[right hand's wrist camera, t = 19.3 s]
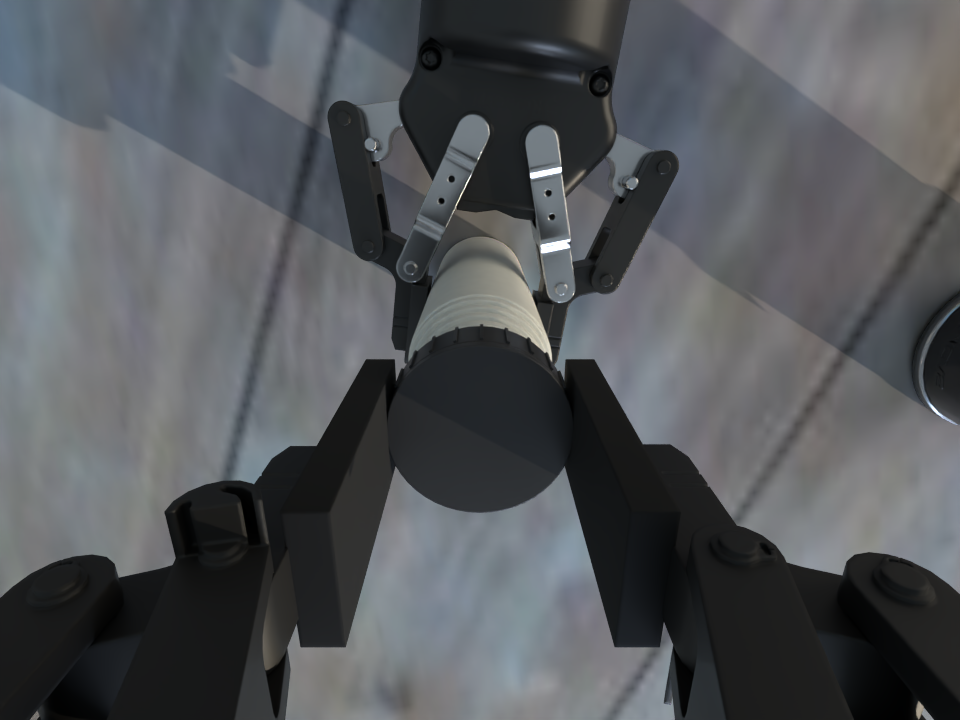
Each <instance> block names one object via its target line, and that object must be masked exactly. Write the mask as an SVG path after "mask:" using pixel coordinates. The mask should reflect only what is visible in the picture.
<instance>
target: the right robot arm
mask: <svg viewBox="0 0 960 720" xmlns="http://www.w3.org/2000/svg"><path fill="white" fill-rule="evenodd" d="M564 382H565V385H566V387H567V390H566V394H567V397H568V399H569V402H570V405H571V409H572V412H573V435H572V448H571V452H570V455H569V458H568V460H567V462H566V464H565V469H566V472H567V476H568V479H569V483H570V487H571V490H572V494H573V498H574V501H575V505H576V508H577V512H578V516H579V519H580V523H581V527H582V530H583V534H584V537H585V541H586V545H587V548H588V552H589V556H590V559H591V563H592V566H593V570H594V574H595V577H596V581H597V585H598V588H599V592H600V596H601V599H602V603H603V606H604V610H605V614H606V617H607V621H608V625H609V628H610V632H611V635H612V639H613V643H614V646H615V647H660V642H661V636H662V630H663V623H665V625H666V628H667V630H668V633H669V635H670V638H671V640H672V643H673V650H672V656H671V662H670V667H669V673H668V679H667V685H666V691H665V698H664V703H665V704H669V705H671V702H672V696H673V705H674V714H675V720H926V719H925V718H924V717H923V715H922V712H923V709H924V708H925V709H926V710H927V712H928V713H929V714H930V715H931V716H932V718H933V719H934V720H960V594H959V593H958V592H957V591H956V590H954V589H953V588H952V587H951V586H950V585H949V584H947V583H946V582H945V581H943V580H942V579H940V578H939V577H938V576H936V575H935V574H934V573H932V572H931V571H929V570H927V569H925V568H923V567H921V566H919V565H917V564H914V563H913V562H911V561H908V560H905V559H903V558H898V557H896V556H891V555H888V554H880V553H871V552H868V553H862V554H856V555H854V556H853V557H851V558H850V559H849V560H848V561H847V562H846V566H845V569H844V572H843V576H842V575H837V574H832V573H828V572H823V571H819V570H814V569H809V568H805V567H800V566H797V565H793V564H790V563H786V560H785V558H784V556H783V555H782V554H781V552H780V551H779V549H778V548H777V547H776V545H774V544H773V543H772V542H770V541H769V540H768V539H766V538H765V537H764V536H762V535H760V534H758V533H756V532H754V531H751V530H749V529H747V528H744V527H740V526H737V525H736V524H735V522H734V521H733V520H732V518H731V517H730V515H729V514H728V512H727V511H726V510H725V508H724V507H723V505H722V504H721V502H720V501H719V500H718V498H717V497H716V495H715V494H714V492H713V491H712V490H711V488H710V487H708V486H707V482H706V481H705V480H704V478H703V477H702V475H701V474H699V471H698V470H697V468H696V467H695V465H694V464H693V462H692V461H691V460H690V458H689V457H688V456H686V455H685V454H684V453H682V452H681V451H679V450H678V449H676V448H675V447H673V446H672V445H670V444H642V442H641V441H640V439H639V437H638V435H637V434H636V432H635V430H634V428H633V427H632V425H631V423H630V421H629V420H628V418H627V416H626V414H625V413H624V411H623V409H622V407H621V406H620V404H619V402H618V400H617V399H616V397H615V395H614V393H613V391H612V390H611V388H610V386H609V384H608V383H607V381H606V379H605V377H604V376H603V374H602V372H601V370H600V369H599V367H598V365H597V363H596V362H595V360H594V359H566V362H565V379H564ZM395 384H396V373H395V359H366V361H365V362H364V364H363V366H362V368H361V369H360V371H359V373H358V375H357V376H356V378H355V380H354V382H353V383H352V385H351V387H350V389H349V390H348V392H347V394H346V396H345V397H344V399H343V401H342V403H341V404H340V406H339V408H338V410H337V411H336V413H335V415H334V417H333V418H332V420H331V422H330V424H329V425H328V427H327V429H326V431H325V432H324V434H323V436H322V438H321V440H320V441H319V443H318V445H317V446H290V447H288V448H287V449H285V450H284V451H283V452H281V453H280V454H278V455H277V456H275V457H274V458H272V459H271V461H270V462H269V464H268V465H267V467H266V468H265V469H264V471H263V472H262V476H260V477H259V478H258V480H257V481H256V482H255V484H252V483H248V482H244V481H220V482H216V483H211V484H206V485H203V486H201V487H198V488H196V489H193V490H191V491H188V492H187V493H185V494H184V495H182V496H181V497H179V498H178V499H176V500H174V501H173V502H172V503H171V505H170V506H169V507H168V508H167V509H166V511H165V516H166V520H167V524H168V528H169V532H170V536H171V540H172V544H173V548H174V552H175V556H176V559H175V561H174V564H173V565H172V566H168V567H165V568H161V569H157V570H152V571H148V572H143V573H139V574H134V575H129V576H125V577H120V578H119V577H118V574H117V571H116V567H115V564H114V563H113V562H112V561H111V560H109V559H108V558H107V557H103V556H98V555H84V556H76V557H71V558H67V559H63V560H60V561H57V562H54V563H51V564H49V565H48V566H46V567H43V568H41V569H39V570H37V571H35V572H33V573H31V574H30V575H28V576H27V577H26V578H24V579H23V580H21V581H20V582H19V583H17V584H16V585H15V586H13V587H12V588H11V589H10V590H9V591H8V592H6V593H5V594H4V595H3V596H2V597H1V598H0V720H30V719H31V717H32V716H33V715H34V714H35V712H36V711H37V710H38V713H39V715H40V717H39V718H38V719H37V720H285V715H286V706H287V697H288V688H289V679H290V662H289V656H288V650H287V647H288V644H289V642H290V639H291V637H292V634H293V631H294V629H295V626H296V624H297V627H298V634H299V640H300V646H301V647H346V644H347V640H348V637H349V633H350V629H351V626H352V622H353V619H354V615H355V611H356V608H357V604H358V600H359V597H360V593H361V590H362V586H363V582H364V579H365V575H366V571H367V568H368V564H369V561H370V557H371V553H372V550H373V546H374V542H375V539H376V535H377V531H378V528H379V524H380V521H381V517H382V513H383V510H384V506H385V502H386V499H387V495H388V492H389V488H390V484H391V481H392V477H393V473H394V470H395V466H396V465H395V463H394V461H393V459H392V457H391V454H390V451H389V444H388V430H387V414H388V410H389V406H390V403H391V400H392V398H393V395H394V392H395V389H396V388H395V387H394V386H395Z"/></svg>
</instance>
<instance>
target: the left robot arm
mask: <svg viewBox="0 0 960 720" xmlns="http://www.w3.org/2000/svg"><path fill="white" fill-rule="evenodd" d="M629 4H630V0H422V1H421V12H420V24H419V36H418V47H417V58H416V64H415V68H414V71H413V74H412V76H411V78H410V80H409V82H408V83H407V85H406V86H405V88H404V89H403V91H402V93H401V96H400V99H399V100H395V101H388V102H380V103H373V104H366V105H354V104H352V103H350V102H347V101H338V102H335V103H334V104H333V105H332V106H331V107H330V109H329V111H328V123H329V128H330V133H331V138H332V143H333V148H334V153H335V158H336V163H337V168H338V173H339V178H340V183H341V188H342V193H343V198H344V203H345V208H346V213H347V217H348V222H349V227H350V232H351V237H352V242H353V247H354V251H355V253H356V254H357V256H358V257H359V258H361V259H363V260H365V261H373V262H375V263H377V264H379V265H381V266H383V267H385V268H386V269H388V270H389V271H390V272H391V273H392V274H393V276H394V278H395V281H396V292H395V304H394V315H393V316H394V317H393V327H392V341H393V344H394V347H395V349H396V350H403V351H405V363H406V364H407V363H408V356H409V349H410V345H411V341H412V338H413V336H414V333H415V330H416V328H417V325H418V322H419V320H420V317H421V314H422V312H423V309H424V306H425V304H426V301H427V299H428V296H429V293H430V291H431V285H432V276H428V271H429V264H430V261H431V259H432V257H433V255H434V253H435V251H436V249H437V247H438V245H439V243H440V240H441V238H442V236H443V234H444V232H445V230H446V228H447V226H448V224H449V222H450V219H451V217H452V215H453V213H454V211H455V209H456V207H457V210H463V211H470V212H482V211H490V210H498V211H500V212H503V213H505V214H507V215H509V216H512V217H514V218H519V219H526V220H531V227H532V233H533V238H534V242H535V247H536V253H537V259H538V266H539V272H540V284H539V290H538V291H535V290H533V294H532V298H533V300H534V303H535V306H536V308H537V311H538V314H539V316H540V319H541V321H542V324H543V327H544V329H545V332H546V335H547V337H548V340H549V343H550V347H551V353H552V363H553V364H554V365H555V363H556V362H557V360H558V355H559V350H560V345H561V339H562V335H563V330H564V325H565V320H566V315H567V310H568V307H569V305H570V303H571V302H572V301H573V300H574V299H575V298H577V297H579V296H582V295H586V294H591V293H596V292H598V293H601V294H610V293H612V292H614V291H615V290H616V289H617V288H618V287H619V285H620V283H621V281H622V279H623V277H624V275H625V273H626V271H627V269H628V267H629V265H630V263H631V262H632V260H633V258H634V256H635V254H636V252H637V250H638V248H639V246H640V244H641V242H642V240H643V238H644V236H645V234H646V232H647V230H648V229H649V227H650V225H651V223H652V221H653V219H654V217H655V215H656V213H657V211H658V209H659V207H660V205H661V203H662V201H663V199H664V197H665V196H666V194H667V192H668V190H669V188H670V186H671V184H672V182H673V180H674V178H675V176H676V174H677V172H678V169H679V161H678V158H677V157H676V155H675V154H674V153H672V152H670V151H665V150H664V151H663V150H652V149H649V148H647V147H645V146H643V145H641V144H639V143H637V142H635V141H632V140H630V139H628V138H626V137H624V136H622V135H620V134H617V125H616V120H615V117H614V114H613V109H612V88H613V83H614V78H615V73H616V68H617V63H618V58H619V53H620V48H621V43H622V38H623V33H624V28H625V24H626V19H627V14H628V9H629ZM403 127H404V128H405V130H406V132H407V134H408V136H409V138H410V140H411V141H412V143H413V145H414V147H415V149H416V151H417V153H418V155H419V156H420V158H421V160H422V162H423V164H424V166H425V168H426V170H427V171H428V173H429V175H430V177H431V179H432V181H433V182H432V184H431V187H430V189H429V191H428V193H427V195H426V198H425V200H424V202H423V204H422V206H421V209H420V211H419V213H418V215H417V218H416V220H415V223H414V226H413V228H412V230H411V233H410V235H409V237H408V239H407V240H406V239H404V238H402V237H400V236H398V235H396V234H394V233H392V232H391V228H390V222H389V216H388V211H387V205H386V199H385V193H384V188H383V182H382V176H381V171H380V165H379V161H383V160H385V159H387V158H388V157H389V156H390V154H391V152H392V141H393V137H394V134H395V133H396V132H397V131H398V130H399V129H401V128H403ZM604 158H605V159H606V160H607V161H608V163H609V165H610V175H609V178H608V187H609V190H610V191H611V193H613V194H614V195H616V196H615V198H614V200H613V202H612V205H611V207H610V209H609V211H608V213H607V215H606V217H605V219H604V221H603V223H602V225H601V227H600V229H599V231H598V233H597V236H596V238H595V240H594V242H593V244H592V246H591V248H590V250H589V252H588V254H587V256H586V258H585V259H584V260H580V261H575V262H572V257H571V250H570V244H571V238H570V230H569V222H568V215H567V208H566V200H565V198H566V197H567V196H568V195H569V194H570V193H571V192H572V191H573V190H574V189H575V188H576V187H577V186H578V185H579V184H580V183H581V182H582V181H583V180H584V178H585V177H586V176H587V175H588V174H589V173H590V172H591V171H592V170H593V169H594V168H595V167H596V166H597V165H598V164H599V163H600V162H601V161H602V160H603V159H604ZM912 377H913V383H914V387H915V390H916V392H917V395H918V397H919V398H920V400H921V401H922V403H923V404H924V405H925V406H926V407H927V408H928V409H929V410H930V411H932V412H933V413H934V414H936V415H938V416H940V417H941V418H943V419H945V420H947V421H949V422H951V423H953V424H956V425H959V426H960V293H959V294H958V295H956V296H955V297H954V298H953V299H951V300H950V301H949V302H948V303H947V304H946V305H945V306H944V307H943V308H942V309H941V310H940V311H939V312H938V313H937V314H936V315H935V316H934V318H933V319H932V320H931V322H930V323H929V324H928V326H927V327H926V329H925V331H924V332H923V334H922V336H921V338H920V340H919V343H918V345H917V348H916V351H915V354H914V359H913V366H912Z"/></svg>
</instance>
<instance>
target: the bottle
mask: <svg viewBox="0 0 960 720" xmlns="http://www.w3.org/2000/svg"><path fill="white" fill-rule="evenodd" d="M480 324H483V326H488V327H496V328H501V329H505V327H506V328H508V331H511V332H514V333H517V334H519V335H521V336H523V337H525V338H526V339H527V337H529V338H530V339H531V342H533V343H534V344H535V345H537V346H538V347H539V348H540V349H541V350H542V351H543V352H544V353H546V352H547V353H548V354H549V357H550V360H551V361H552V353H551V347H550V343H549V340H548V337H547V335H546V332H545V329H544V327H543V324H542V321H541V319H540V316H539V314H538V311H537V308H536V306H535V303H534V300H533V298H532V295H531V292H530V290H529V287H528V285H527V282H526V279H525V277H524V274H523V271H522V269H521V266H520V263H519V261H518V259H517V257H516V256H515V254H514V253H513V252H512V251H511V249H510V248H509V247H507V246H506V245H505V244H503V243H502V242H500V241H498V240H496V239H493V238H489V237H471V238H467V239H465V240H462V241H460V242H458V243H457V244H456V245H454V246H453V247H452V248H451V249H450V250H449V251H448V252H447V253H446V255H445V256H444V258H443V260H442V262H441V264H440V267H439V270H438V272H437V275H436V277H435V280H434V283H433V285H432V288H431V291H430V293H429V296H428V299H427V301H426V304H425V306H424V309H423V312H422V314H421V317H420V320H419V322H418V325H417V328H416V330H415V333H414V336H413V338H412V341H411V345H410V349H409V356H408V362H409V360H410V359H411V358H412V355H413V353H414V351H415V350H417V351H418V350H419V349H420V348H421V347H423V346H424V345H425V344H426V343H428V342H429V341H431V340H432V337H433V336H436V337H437V336H440V335H442V334H444V333H446V332H449V331H452V330H455V327H459V328H464V327H472V326H480Z"/></svg>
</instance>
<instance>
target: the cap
mask: <svg viewBox="0 0 960 720" xmlns="http://www.w3.org/2000/svg"><path fill="white" fill-rule="evenodd" d="M394 387H395V388H396V389H395V392H394V395H393V398H392V400H391V403H390V406H389V410H388V414H387V430H388V444H389V451H390V454H391V457H392V459H393V461H394V463H395V465H396V467H397V469H398V470H399V472H400V473H401V475H402V476H403V477H404V478H405V480H406V481H407V482H408V483H409V484H410V485H411V486H412V487H413V488H414V489H415V490H416V491H418V492H419V493H421V494H422V495H423V496H425V497H426V498H428V499H430V500H432V501H433V502H435V503H438V504H440V505H442V506H445V507H448V508H451V509H455V510H459V511H465V512H476V513H484V512H495V511H501V510H506V509H509V508H513V507H516V506H518V505H520V504H523V503H525V502H527V501H529V500H531V499H532V498H534V497H536V496H537V495H538V494H540V493H541V492H543V491H544V490H545V489H546V488H547V487H548V486H549V485H550V484H552V482H553V481H554V480H555V479H556V478H557V476H558V475H559V474H560V472H561V471H562V469H563V468H564V466H565V464H566V462H567V460H568V458H569V455H570V452H571V448H572V435H573V412H572V409H571V405H570V402H569V399H568V397H567V394H566V390H567V387H566V385H565V382H564V380H563V377H562V374H561V372H560V371H557V369H556V367H555V366H554V364H553V363H552V361H551V360H550V357H549V354H548V353H547V352H546V353H544V352H543V351H542V350H541V349H540V348H539V347H538V346H537V345H535V344H534V343H533V342H531V339H530V338H529V337H527V339H526V338H525V337H523V336H521V335H519V334H517V333H514V332H511V331H508V328H506V327H505V329H501V328H496V327H488V326H483V324H480V326H472V327H464V328H459V327H455V330H452V331H449V332H446V333H444V334H442V335H440V336H437V337H436V336H433V337H432V340H431V341H429V342H428V343H426V344H425V345H424V346H423V347H421V348H420V349H419V350H418V351H417V350H415V351H414V353H413V355H412V358H411V359H410V360H409V362H408V363H407V365H406V366H405V368H404V369H403V368H402V369H401V371H400V373H399V376H398V378H397V381H396V384H395V386H394Z"/></svg>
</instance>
